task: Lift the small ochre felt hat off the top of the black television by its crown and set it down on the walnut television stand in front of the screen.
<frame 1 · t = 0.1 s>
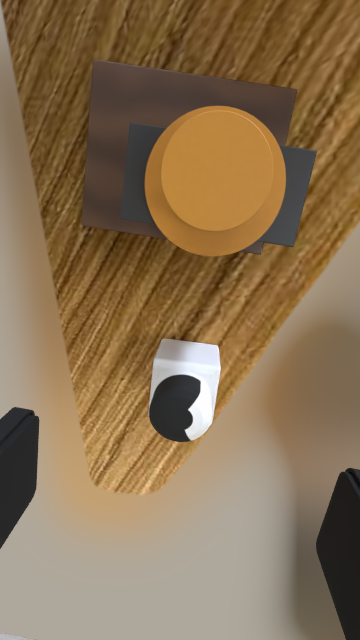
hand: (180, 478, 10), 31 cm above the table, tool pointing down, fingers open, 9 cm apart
television: (211, 199, 34), resting on tv stand
hat: (213, 186, 22), point 16 cm above the table, touching television
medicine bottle: (187, 366, 43), on the table
tv stand: (184, 168, 37), on the table
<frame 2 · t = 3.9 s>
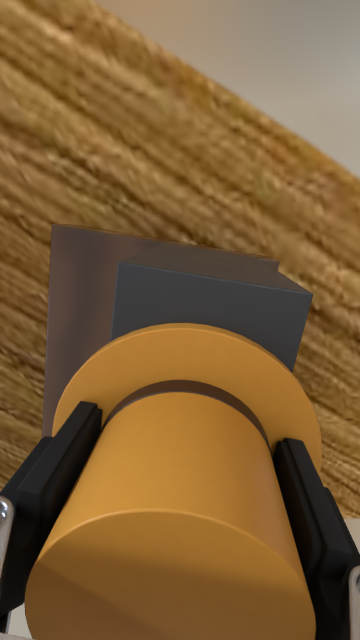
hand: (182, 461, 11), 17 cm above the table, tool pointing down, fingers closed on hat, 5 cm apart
television: (195, 337, 23), resting on tv stand
hat: (184, 445, 12), point 16 cm above the table, touching gripper, television
tv stand: (154, 355, 28), on the table
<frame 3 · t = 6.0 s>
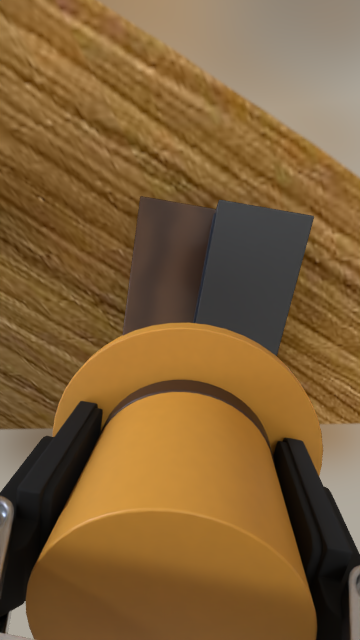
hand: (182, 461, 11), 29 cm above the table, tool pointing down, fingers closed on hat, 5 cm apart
television: (233, 275, 34), resting on tv stand
hat: (184, 445, 12), point 28 cm above the table, touching gripper
tv stand: (199, 295, 39), on the table
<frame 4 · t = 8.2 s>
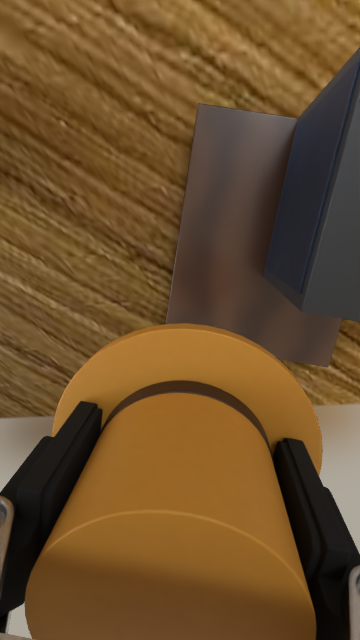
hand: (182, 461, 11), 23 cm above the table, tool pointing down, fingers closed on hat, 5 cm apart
television: (316, 208, 27), resting on tv stand
hat: (184, 446, 12), point 23 cm above the table, touching gripper
tv stand: (261, 244, 32), on the table
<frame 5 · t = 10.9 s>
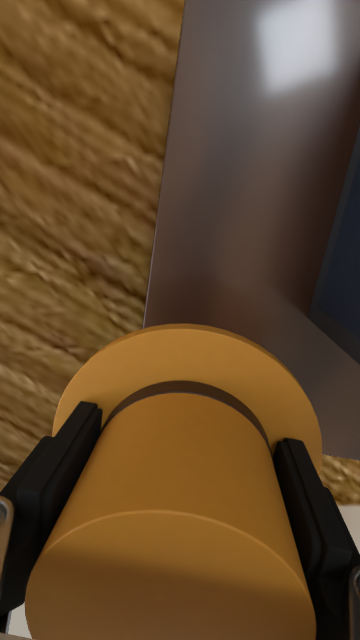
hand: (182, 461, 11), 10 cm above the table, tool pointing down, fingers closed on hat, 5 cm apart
hat: (184, 446, 12), point 9 cm above the table, touching gripper
tv stand: (297, 255, 19), on the table
when the fingers open (5 cm above the table, at t = 12.7 s): hat stays where it is, resting on tv stand.
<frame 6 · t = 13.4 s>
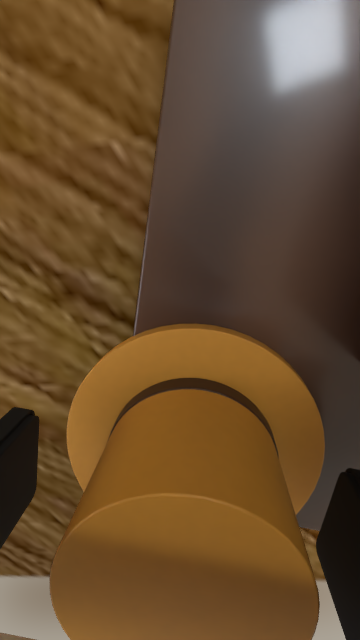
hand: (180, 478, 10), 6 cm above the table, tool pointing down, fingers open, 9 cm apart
hat: (192, 441, 12), point 4 cm above the table, touching tv stand
tv stand: (335, 271, 14), on the table
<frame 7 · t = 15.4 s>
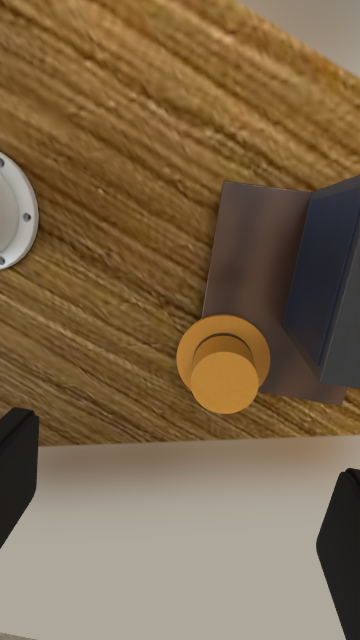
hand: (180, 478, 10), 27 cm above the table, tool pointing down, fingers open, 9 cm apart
television: (329, 267, 30), resting on tv stand
hat: (222, 358, 33), point 4 cm above the table, touching tv stand
tv stand: (278, 293, 35), on the table
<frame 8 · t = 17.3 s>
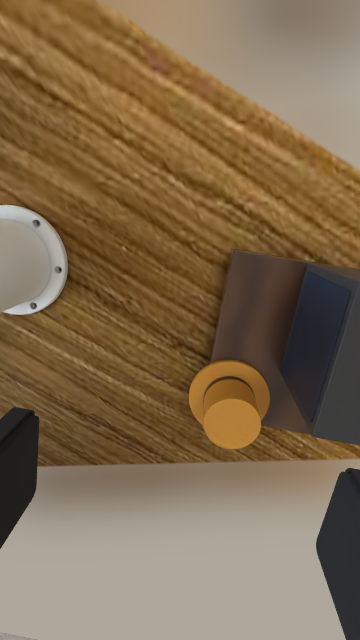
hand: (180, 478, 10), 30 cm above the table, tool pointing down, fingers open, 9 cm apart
television: (321, 324, 35), resting on tv stand
hat: (228, 396, 38), point 4 cm above the table, touching tv stand
tv stand: (277, 338, 40), on the table
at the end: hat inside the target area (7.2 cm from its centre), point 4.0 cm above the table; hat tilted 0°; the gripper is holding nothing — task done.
